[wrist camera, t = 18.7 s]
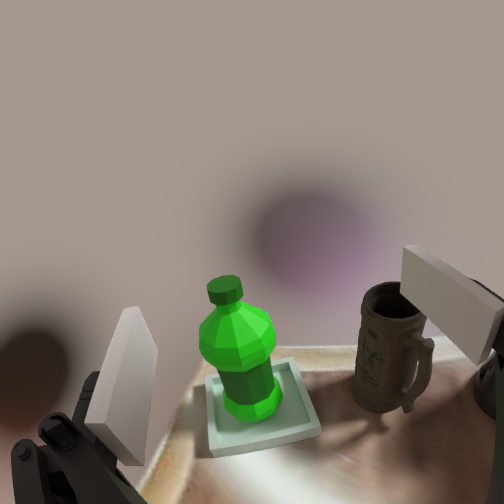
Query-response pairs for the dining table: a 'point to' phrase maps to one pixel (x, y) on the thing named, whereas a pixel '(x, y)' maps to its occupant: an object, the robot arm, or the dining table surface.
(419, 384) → the beer stein
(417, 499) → the dining table surface
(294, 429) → the tray
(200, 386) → the dining table surface
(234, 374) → the plastic bottle
